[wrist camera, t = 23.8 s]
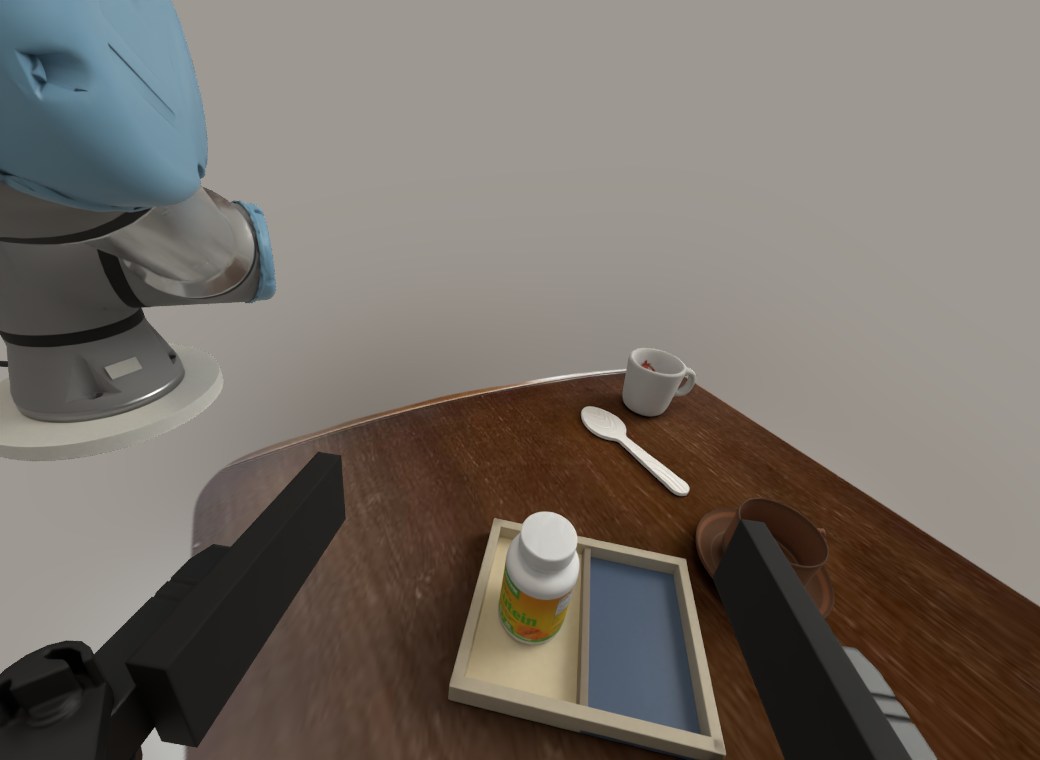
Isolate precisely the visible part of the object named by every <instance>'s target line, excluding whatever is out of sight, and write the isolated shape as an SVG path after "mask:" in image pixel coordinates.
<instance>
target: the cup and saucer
mask: <svg viewBox="0 0 1040 760" xmlns="http://www.w3.org/2000/svg"><path fill="white" fill-rule="evenodd" d="M740 519H745V520H752V521H758V522H764V523H765V524H766V526H767V528H768V529H769V531H770V532H771V534H772V536H773V537H774V539H775V540H776V542H777V544H778V545H779V547H780V548H781V550H782V552H783V553H784V555H785V556H786V558H787V560H788V561H789V563H790V564H791V566H792V568H793V569H794V571H795V572H796V574H797V576H798V577H799V579H800V580H801V582H802V584H803V585H804V587H805V588H806V590H807V592H808V593H809V595H810V596H811V598H812V600H813V601H814V603H815V604H816V606H817V608H818V609H819V611H820V612H821V614H822V616H823V617H824V619H825V618H826V617H827V616H828V615H829V614H830V612H831V611H832V609H833V606H834V600H835V596H834V589H833V585H832V582H831V579H830V577H829V575H828V573H827V571H826V569H825V567H824V566H823V565H824V564H825V562H826V561H827V559H828V556H829V548H828V545H827V542H826V540H825V536H826V532H825V530H824V529H821V528H817V527H816V526H815V525H814V524H813V523H812V522H811V521H810V520H808V519H807V518H806V517H805V516H803V515H802V514H801V513H799V512H798V511H796V510H794V509H793V508H791V507H789V506H787V505H785V504H783V503H780V502H777V501H774V500H771V499H766V498H751V499H748V500H746V501H744V502H743V503H742V504H741V505H740V507H739V508H738V509H736V508H721V509H716V510H713V511H711V512H709V513H707V514H706V515H704V516H703V517H702V519H701V520H700V522H699V524H698V526H697V530H696V547H697V551H698V554H699V557H700V559H701V561H702V563H703V565H704V567H705V569H706V570H707V572H708V573H709V575H710V576H711V577H712V579H713V576H714V573H715V571H716V569H717V567H718V565H719V563H720V561H721V559H722V557H723V554H724V552H725V550H726V548H727V546H728V544H729V542H730V540H731V538H732V536H733V533H734V531H735V529H736V527H737V525H738V523H739V521H740Z"/></svg>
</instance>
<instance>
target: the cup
mask: <svg viewBox="0 0 1040 760" xmlns="http://www.w3.org/2000/svg"><path fill="white" fill-rule="evenodd" d="M686 375H689V377H688V380H687V382H686V384H685V385H684V386H683V387H682V388H680V389H677V388H678V386H679V385H680V383H681V381H682V379H683V377H684V376H686ZM695 382H696V374H695V372H694V371H693V370H692V369H690V368H688V367H686V366H685V364H684V363H683V362H682V361H681V360H680V359H679V358H677V357H676V356H674V355H672V354H670V353H668V352H665V351H661V350H658V349H652V348H640V349H636V350H634V351H632V352H631V353H630V355H629V360H628V366H627V371H626V377H625V382H624V388H623V401H624V403H625V405H626V406H627V407H628V408H629V409H630V410H632V411H633V412H635V413H638V414H640V415H644V416H657V415H660V414H662V413H663V412H664V411H665V410H666V409H667V407H668V405H669V404H670V402H671V400H672V398H673V396H683V395H686V394H687V393H688V392H690V390H691V389H692V388H693V386H694V384H695Z"/></svg>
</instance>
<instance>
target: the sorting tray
mask: <svg viewBox="0 0 1040 760" xmlns="http://www.w3.org/2000/svg"><path fill="white" fill-rule="evenodd" d="M522 525H523V524H519V523H514V522H510V521H505V520H500V519H496V518H494V521H493V525H492V529H491V532H490V536H489V540H488V543H487V547H486V551H485V555H484V558H483V562H482V566H481V569H480V573H479V577H478V580H477V584H476V588H475V592H474V595H473V599H472V603H471V606H470V610H469V614H468V618H467V621H466V625H465V629H464V632H463V636H462V640H461V643H460V647H459V651H458V655H457V658H456V662H455V666H454V669H453V673H452V677H451V680H450V684H449V697H448V699H449V700H452V701H456V702H460V703H464V704H468V705H472V706H475V707H479V708H483V709H487V710H491V711H495V712H499V713H503V714H507V715H511V716H515V717H519V718H523V719H527V720H531V721H535V722H539V723H543V724H547V725H551V726H555V727H559V728H563V729H567V730H571V731H575V732H579V733H583V734H587V735H591V736H595V737H599V738H603V739H607V740H611V741H615V742H619V743H623V744H627V745H631V746H634V747H638V748H642V749H646V750H650V751H654V752H658V753H662V754H666V755H670V756H674V757H678V758H682V759H686V760H722V759H723V758H724V757H725V756H726V751H725V747H724V742H723V737H722V733H721V728H720V723H719V718H718V713H717V708H716V704H715V699H714V694H713V689H712V684H711V679H710V675H709V670H708V665H707V660H706V655H705V650H704V646H703V641H702V636H701V631H700V626H699V622H698V617H697V612H696V607H695V602H694V597H693V593H692V588H691V583H690V578H689V573H688V568H687V563H686V559H682V558H678V557H673V556H668V555H664V554H659V553H654V552H650V551H645V550H640V549H636V548H631V547H626V546H622V545H617V544H612V543H608V542H603V541H598V540H594V539H589V538H584V537H580V536H577V547H576V552H577V554H578V557H579V574H578V578H577V582H576V585H575V588H574V591H573V594H572V597H571V600H570V603H569V606H568V609H567V612H566V615H565V619H564V621H563V624H562V626H561V628H560V630H559V632H558V633H557V634H556V635H555V636H554V637H553V638H552V639H550V640H549V641H547V642H545V643H542V644H537V645H531V644H526V643H522V642H520V641H518V640H516V639H515V638H513V637H512V636H511V635H510V634H509V633H508V632H507V631H506V629H505V628H504V626H503V624H502V622H501V620H500V616H499V598H500V592H501V586H502V580H503V574H504V568H505V562H506V555H507V552H508V548H509V546H510V544H511V542H512V541H513V539H514V538H515V537H516V536H517V535H518V534H519V533H520V531H521V527H522Z"/></svg>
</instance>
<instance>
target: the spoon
mask: <svg viewBox="0 0 1040 760" xmlns="http://www.w3.org/2000/svg"><path fill="white" fill-rule="evenodd" d="M581 419H582V421H583V423H584V425H585V426H586V427H587V429H589V430H590V431H591V432H592V433H593V434H595V435H596V436H599V437H601V438H603V439H607V440H613V441H617V442H618V443H620V444H621V445H622V446H623V447H624V448H625V449H626V450H627V451H628V452H629V453H631V454H632V455H633V456H634V457H635V458H636V459H637V460H638V461H639V462H640V463H641V464H642V465H643V466H644V467H645V468H646V469H648V470H649V471H650V472H651V473H652V474H653V475H654V476H655V477H656V478H657V479H658V480H659V481H660V482H662V483H663V484H664V485H665V486H666V487H667V488H668V489H669V490H670V491H671V492H672V493H674V494H675V495H678V496H686V495H687V494H688V492H689V485H687V483H686V482H685V481H684V480H682V479H681V478H679V477H678V476H676V475H675V474H674V473H672V472H671V471H670V470H669V468H668V469H667V468H666V467H665V466H664V465H662V464H661V463H660V462H659V461H657V460H656V459H654V458H653V457H651V456H650V455H649V454H647V452H645V451H644V450H642V449H641V447H639V446H638V445H636V444H635V443H634V442H633V441H631V440H630V439H628V438H627V436H626V426H625V425H624V423H623V422H622V421H621V420H620V419H619V418H618V417H616V415H613V414H611V413H609V412H607V411H605V410H604V409H600V408H595V407H591V406H590V407H589V406H588V407H585V408H583V410H582V412H581Z"/></svg>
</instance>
